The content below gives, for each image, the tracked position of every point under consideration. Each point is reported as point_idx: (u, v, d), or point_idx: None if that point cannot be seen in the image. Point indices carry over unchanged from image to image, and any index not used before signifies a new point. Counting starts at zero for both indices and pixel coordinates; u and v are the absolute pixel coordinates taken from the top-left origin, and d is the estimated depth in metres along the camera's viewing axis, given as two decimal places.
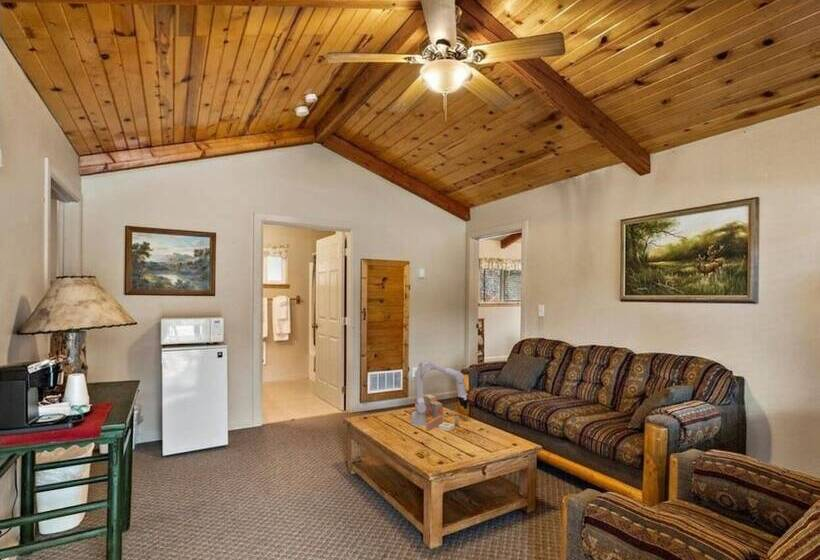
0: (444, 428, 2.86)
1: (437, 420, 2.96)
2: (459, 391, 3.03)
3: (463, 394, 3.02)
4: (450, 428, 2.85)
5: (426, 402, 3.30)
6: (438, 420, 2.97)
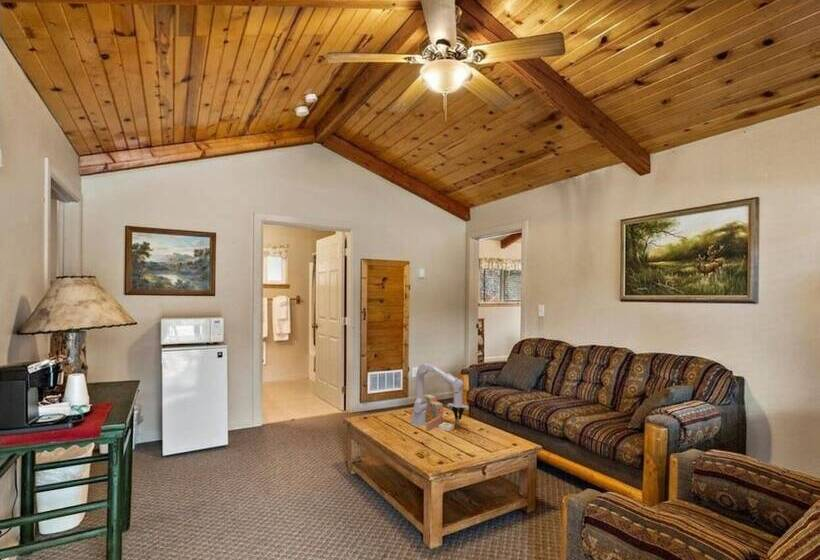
0: (444, 428, 2.86)
1: (437, 420, 2.96)
2: None
3: None
4: (450, 428, 2.85)
5: (426, 402, 3.30)
6: (438, 420, 2.97)
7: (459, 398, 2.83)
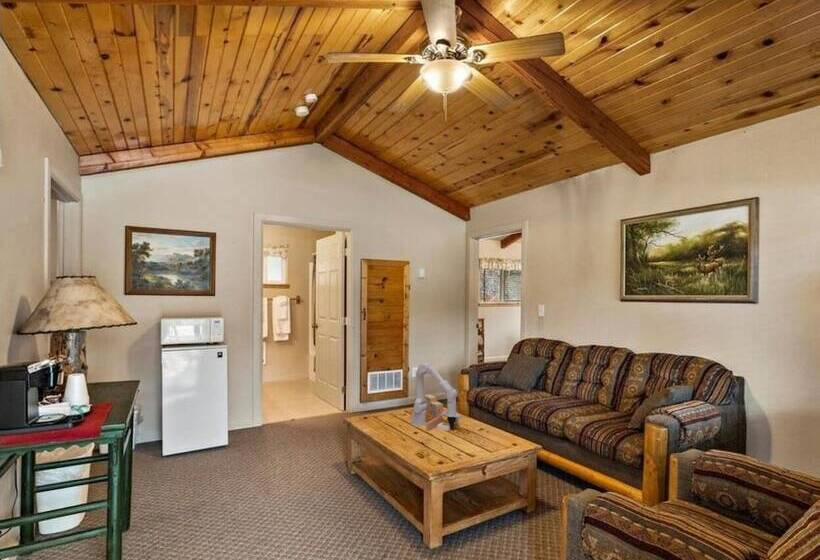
0: (442, 428, 2.86)
1: (437, 420, 2.96)
2: None
3: None
4: (448, 428, 2.86)
5: (426, 402, 3.30)
6: (438, 420, 2.97)
7: (453, 408, 2.85)
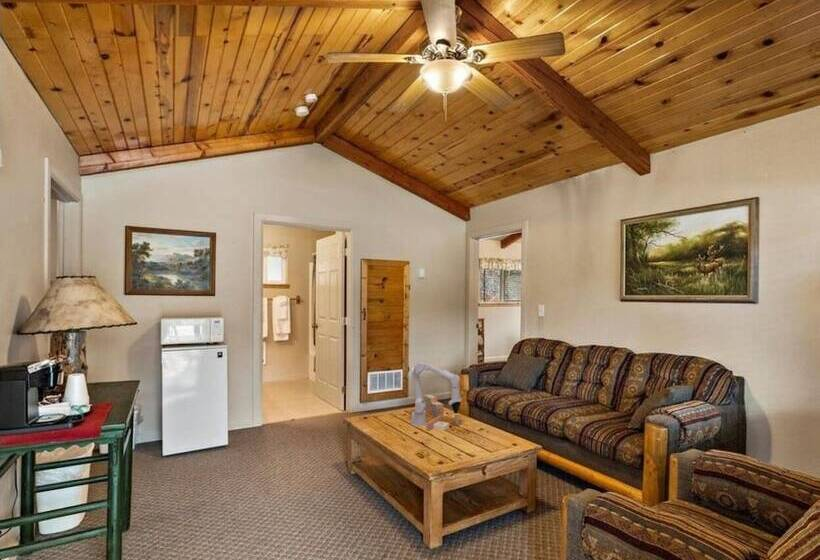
0: (439, 427, 2.88)
1: (437, 420, 2.96)
2: (451, 395, 2.94)
3: (453, 399, 2.91)
4: (445, 427, 2.87)
5: (427, 402, 3.30)
6: (438, 420, 2.97)
7: (457, 393, 2.92)
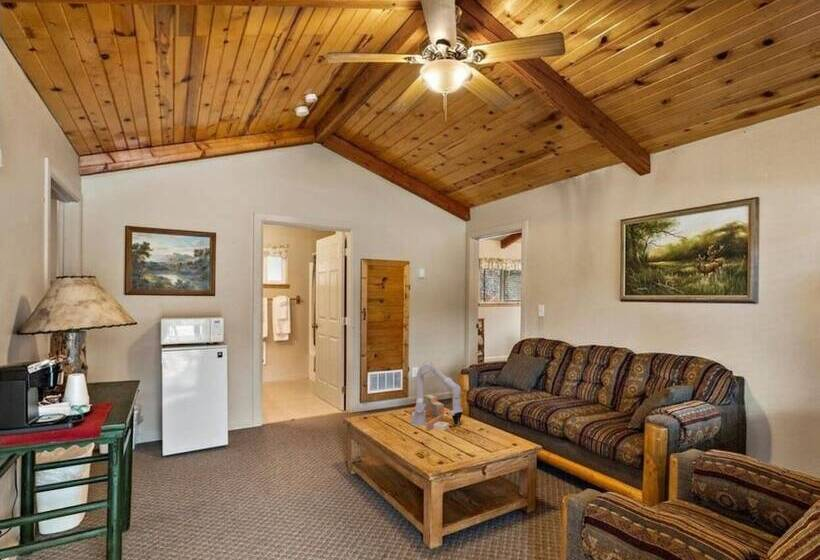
0: (439, 427, 2.88)
1: (437, 420, 2.96)
2: (453, 405, 2.94)
3: (455, 410, 2.92)
4: (445, 427, 2.87)
5: (427, 402, 3.30)
6: (438, 420, 2.97)
7: (459, 403, 2.92)
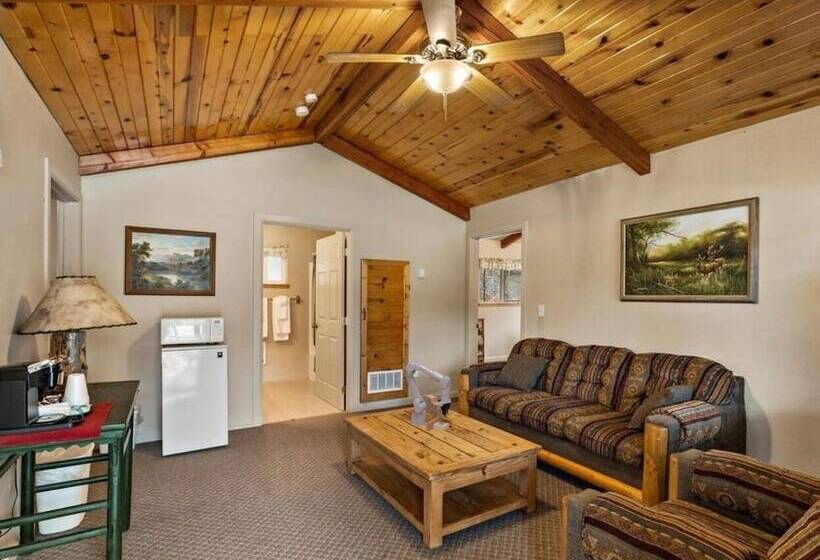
0: (439, 427, 2.88)
1: (437, 420, 2.96)
2: (441, 396, 2.92)
3: (444, 400, 2.90)
4: (445, 427, 2.87)
5: (427, 402, 3.29)
6: (438, 420, 2.97)
7: (446, 394, 2.90)
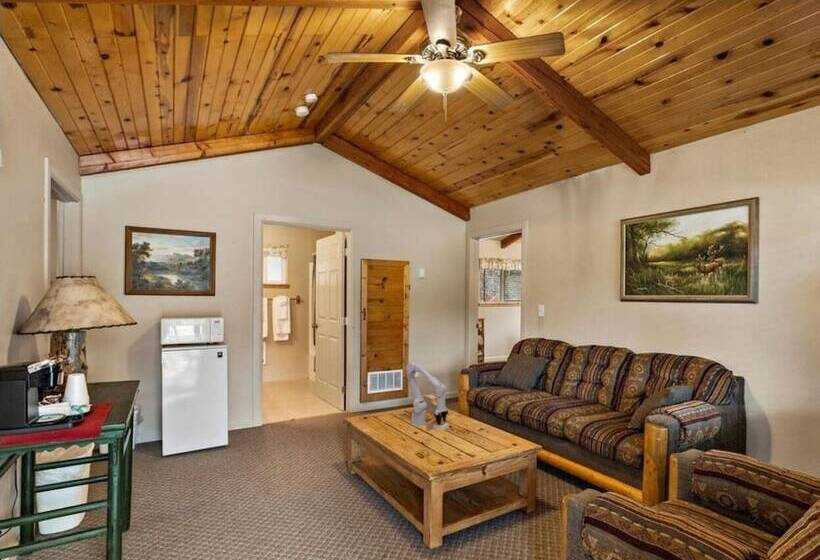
0: (439, 427, 2.88)
1: None
2: (437, 404, 2.91)
3: (439, 409, 2.89)
4: (445, 427, 2.87)
5: (427, 402, 3.29)
6: None
7: (442, 402, 2.89)
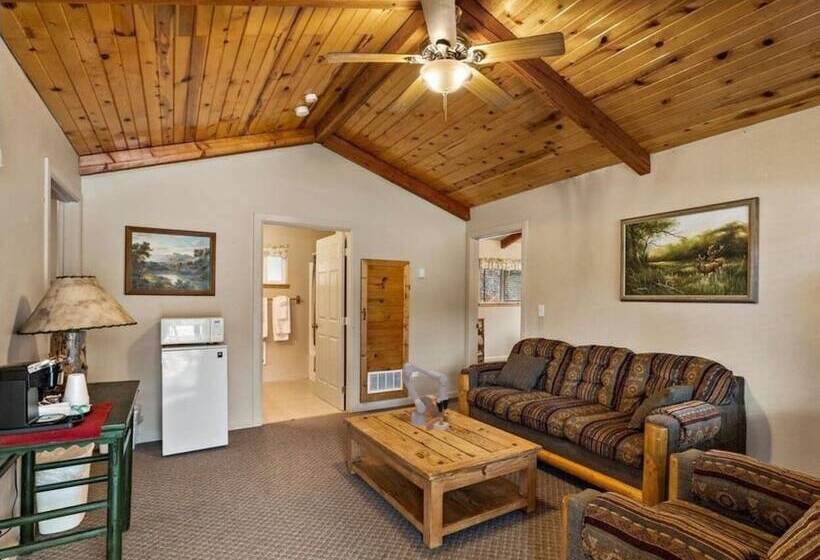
0: (439, 427, 2.88)
1: (437, 420, 2.96)
2: (439, 393, 3.00)
3: (441, 397, 2.99)
4: (445, 427, 2.87)
5: (428, 403, 3.29)
6: (438, 420, 2.97)
7: (445, 391, 2.99)
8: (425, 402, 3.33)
